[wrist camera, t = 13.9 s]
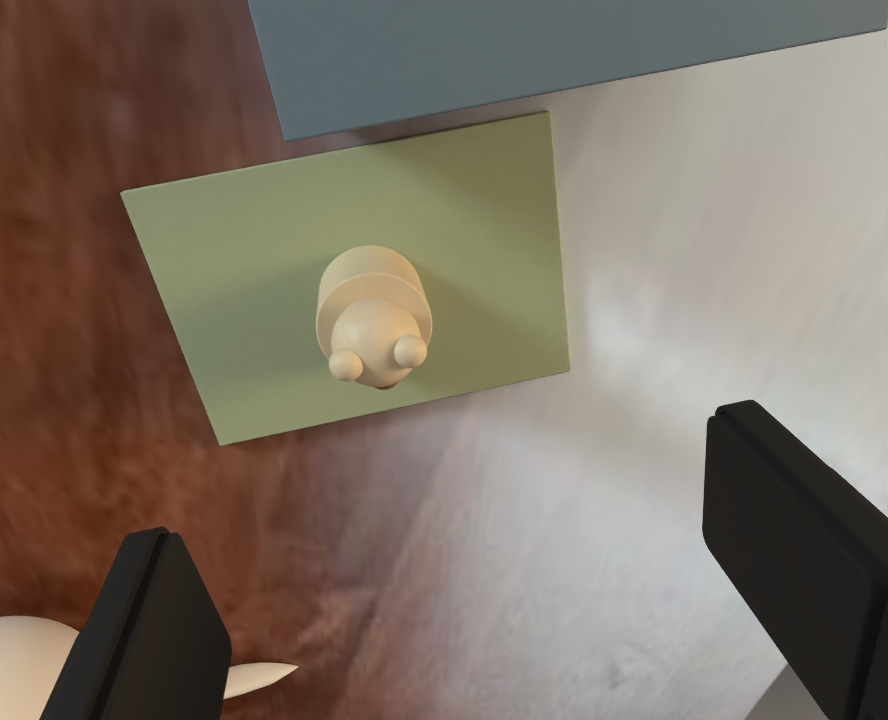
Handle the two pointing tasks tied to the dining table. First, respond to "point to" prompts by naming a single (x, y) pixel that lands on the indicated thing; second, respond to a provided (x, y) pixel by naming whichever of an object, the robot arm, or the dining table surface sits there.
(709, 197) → the dining table surface
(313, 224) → the mat
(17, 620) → the egg with bunny ears
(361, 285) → the bear
